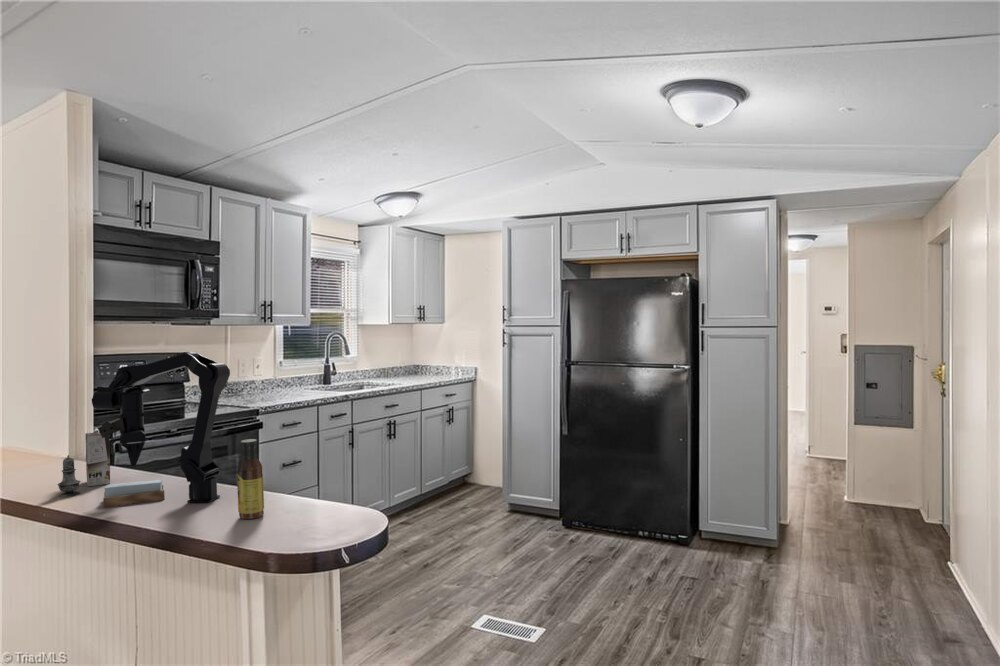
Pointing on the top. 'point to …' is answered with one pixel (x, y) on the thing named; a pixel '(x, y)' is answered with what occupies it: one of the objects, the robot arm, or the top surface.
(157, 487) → the pale grey-blue bar
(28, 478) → the top surface
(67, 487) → the salt shaker
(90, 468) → the coffee box
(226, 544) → the top surface
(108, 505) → the cradle
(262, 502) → the sauce bottle
